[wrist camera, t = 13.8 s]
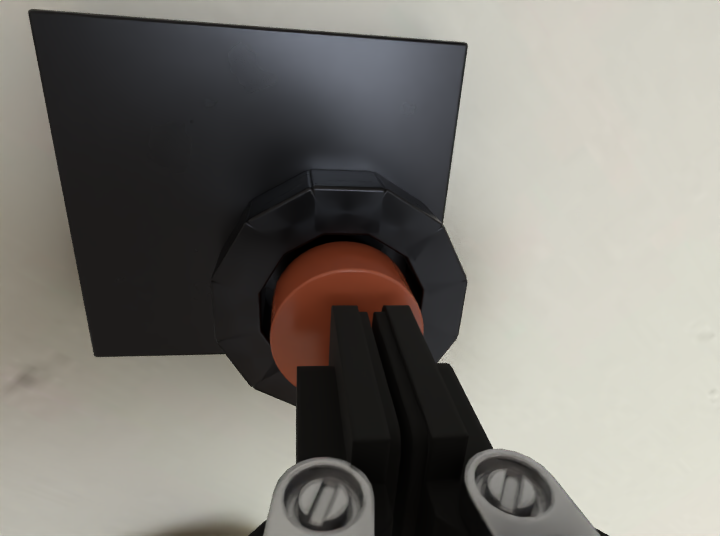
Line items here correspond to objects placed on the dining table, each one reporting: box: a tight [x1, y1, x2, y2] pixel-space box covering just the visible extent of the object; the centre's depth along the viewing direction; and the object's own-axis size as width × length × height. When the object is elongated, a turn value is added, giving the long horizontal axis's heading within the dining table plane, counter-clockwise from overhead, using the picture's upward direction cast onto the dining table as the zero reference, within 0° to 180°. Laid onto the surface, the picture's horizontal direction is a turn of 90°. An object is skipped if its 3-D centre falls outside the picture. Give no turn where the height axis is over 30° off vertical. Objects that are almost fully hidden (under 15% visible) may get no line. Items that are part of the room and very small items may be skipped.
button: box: [270, 241, 424, 387], centre depth 12 cm, size 4×4×2 cm
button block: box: [28, 9, 468, 406], centre depth 13 cm, size 10×10×4 cm
